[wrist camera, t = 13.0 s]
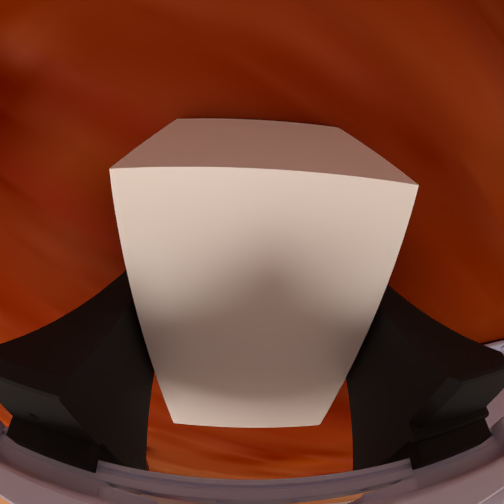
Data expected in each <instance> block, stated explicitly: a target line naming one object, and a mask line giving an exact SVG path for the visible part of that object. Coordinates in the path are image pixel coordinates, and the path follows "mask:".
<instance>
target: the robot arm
mask: <svg viewBox="0 0 504 504" xmlns="http://www.w3.org/2000/svg"><path fill="white" fill-rule="evenodd" d="M153 377H154V368H153V365H152V362H151V359H150V356H149V353H148V349H147V346H146V343H145V339H144V336H143V333H142V329H141V326H140V322H139V319H138V315H137V311H136V307H135V304H134V300H133V296H132V292H131V288H130V283H129V279H128V275H127V270H126V271H125V272H124V273H123V274H122V275H120V276H119V277H118V278H117V279H116V280H114V281H113V282H112V283H111V284H109V285H108V286H107V287H106V288H105V289H103V290H102V291H101V292H99V293H98V294H97V295H95V296H94V297H93V298H91V299H90V300H88V301H87V302H85V303H84V304H83V305H81V306H80V307H78V308H76V309H75V310H73V311H71V312H70V313H68V314H66V315H64V316H63V317H61V318H59V319H58V320H56V321H54V322H52V323H50V324H48V325H46V326H44V327H42V328H40V329H38V330H36V331H33V332H31V333H29V334H27V335H24V336H21V337H19V338H16V339H13V340H11V341H8V342H5V343H2V344H0V403H1V404H2V405H3V406H4V407H5V408H6V409H7V410H8V411H9V412H10V413H11V414H12V415H13V417H12V420H11V423H10V425H9V427H7V426H5V425H4V424H3V423H2V422H1V421H0V497H2V498H3V499H5V500H6V501H8V502H10V503H11V504H158V503H157V501H156V500H155V499H153V498H149V497H145V496H141V495H137V494H134V493H138V494H143V495H148V496H153V497H159V498H166V499H173V500H180V501H189V502H199V503H212V504H284V503H297V502H307V501H316V500H324V499H331V498H337V497H343V496H349V495H354V494H359V493H364V492H368V491H372V492H369V493H365V494H363V495H362V497H361V498H359V499H357V500H355V501H353V502H351V503H348V504H504V340H502V341H498V342H494V343H490V344H485V345H482V344H479V343H477V342H475V341H473V340H471V339H468V338H466V337H464V336H462V335H460V334H458V333H456V332H454V331H453V330H451V329H449V328H447V327H446V326H444V325H442V324H440V323H439V322H437V321H435V320H434V319H432V318H431V317H429V316H428V315H426V314H425V313H423V312H422V311H421V310H419V309H418V308H416V307H415V306H413V305H412V304H411V303H409V302H408V301H407V300H406V299H404V298H403V297H402V296H401V295H399V294H398V293H397V292H396V291H395V290H393V289H392V288H391V287H390V286H389V285H387V286H386V289H385V292H384V294H383V297H382V299H381V302H380V304H379V306H378V309H377V311H376V314H375V316H374V318H373V321H372V323H371V325H370V328H369V330H368V332H367V334H366V337H365V339H364V341H363V343H362V345H361V347H360V350H359V352H358V354H357V356H356V358H355V360H354V362H353V364H352V366H351V368H350V370H349V372H348V374H347V376H346V380H347V387H348V394H349V401H350V410H351V420H352V436H353V471H349V472H343V473H337V474H330V475H322V476H313V477H302V478H289V479H268V480H232V479H211V478H198V477H188V476H179V475H171V474H164V473H157V472H151V471H146V445H147V428H148V416H149V407H150V398H151V390H152V383H153ZM377 489H378V490H377ZM373 490H375V491H373ZM127 491H128V492H127ZM131 492H133V493H131Z"/></svg>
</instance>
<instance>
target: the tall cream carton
mask: <svg viewBox="0 0 504 504" xmlns="http://www.w3.org/2000/svg"><path fill="white" fill-rule="evenodd" d="M109 171H110V179H111V186H112V194H113V201H114V207H115V213H116V219H117V225H118V231H119V236H120V241H121V247H122V252H123V256H124V261H125V266H126V270H127V275H128V279H129V283H130V288H131V292H132V296H133V300H134V304H135V307H136V311H137V315H138V319H139V322H140V326H141V329H142V333H143V336H144V339H145V343H146V346H147V349H148V353H149V356H150V359H151V362H152V365H153V368H154V371H155V374H156V377H157V380H158V383H159V386H160V388H161V391H162V394H163V397H164V399H165V402H166V405H167V407H168V410H169V412H170V415H171V418H172V420H173V423H179V424H189V425H201V426H217V427H250V428H263V427H296V426H311V425H320V423H321V422H322V420H323V418H324V417H325V415H326V413H327V411H328V410H329V408H330V406H331V404H332V402H333V401H334V399H335V397H336V395H337V393H338V391H339V390H340V388H341V386H342V384H343V382H344V380H345V378H346V376H347V374H348V372H349V370H350V368H351V366H352V364H353V362H354V360H355V358H356V356H357V354H358V352H359V350H360V347H361V345H362V343H363V341H364V339H365V337H366V334H367V332H368V330H369V328H370V325H371V323H372V321H373V318H374V316H375V314H376V311H377V309H378V306H379V304H380V302H381V299H382V297H383V294H384V292H385V289H386V286H387V284H388V281H389V278H390V276H391V273H392V270H393V268H394V265H395V262H396V259H397V256H398V253H399V250H400V247H401V244H402V241H403V238H404V235H405V232H406V229H407V225H408V222H409V219H410V215H411V212H412V208H413V205H414V201H415V198H416V194H417V190H418V186H419V185H418V184H417V183H415V182H414V181H413V180H412V179H410V178H409V177H408V176H407V175H405V174H404V173H403V172H401V171H400V170H399V169H397V168H396V167H395V166H393V165H392V164H391V163H389V162H388V161H387V160H385V159H384V158H383V157H381V156H380V155H378V154H377V153H376V152H374V151H373V150H371V149H370V148H368V147H367V146H366V145H364V144H363V143H361V142H360V141H358V140H357V139H355V138H354V137H352V136H351V135H349V134H348V133H346V132H344V131H343V130H341V129H340V128H338V127H331V126H323V125H314V124H305V123H295V122H283V121H269V120H251V119H216V118H197V119H176V120H175V121H173V122H172V123H170V124H169V125H167V126H166V127H164V128H163V129H161V130H160V131H159V132H157V133H156V134H154V135H153V136H152V137H150V138H149V139H147V140H146V141H145V142H143V143H142V144H141V145H139V146H138V147H137V148H135V149H134V150H133V151H131V152H130V153H129V154H127V155H126V156H125V157H123V158H122V159H121V160H120V161H118V162H117V163H116V164H115V165H113V166H112V167H111V168H110V169H109Z"/></svg>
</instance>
